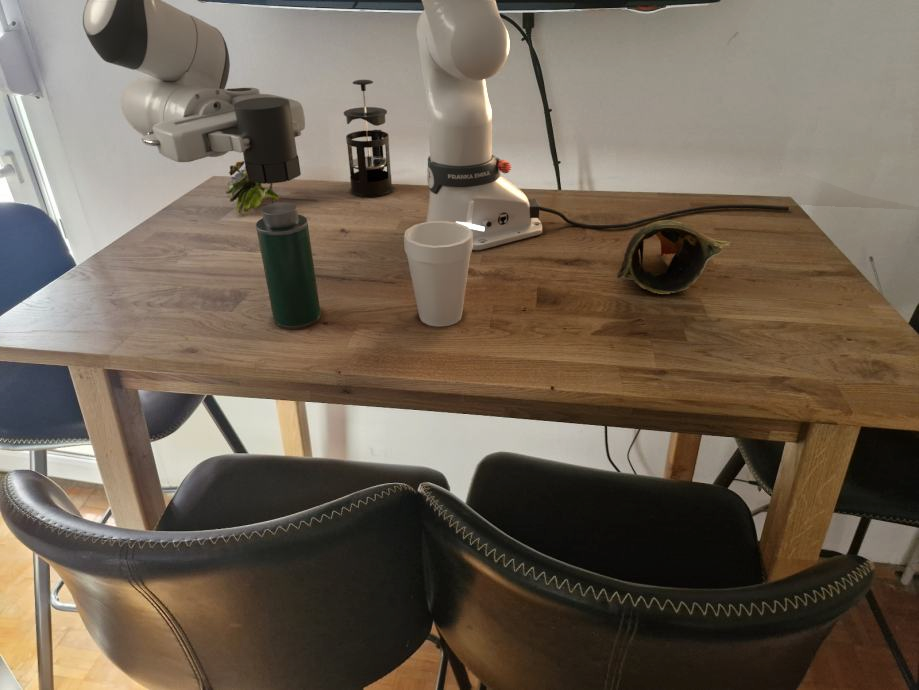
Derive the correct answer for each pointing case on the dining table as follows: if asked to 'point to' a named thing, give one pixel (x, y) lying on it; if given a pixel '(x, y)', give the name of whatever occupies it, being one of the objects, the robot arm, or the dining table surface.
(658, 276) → the pot
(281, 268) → the thermos
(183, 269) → the dining table surface
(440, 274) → the foam cup
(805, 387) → the dining table surface
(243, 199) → the passion flower
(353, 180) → the french press
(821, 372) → the dining table surface
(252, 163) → the lid
